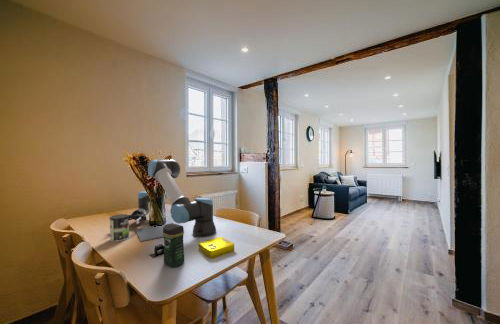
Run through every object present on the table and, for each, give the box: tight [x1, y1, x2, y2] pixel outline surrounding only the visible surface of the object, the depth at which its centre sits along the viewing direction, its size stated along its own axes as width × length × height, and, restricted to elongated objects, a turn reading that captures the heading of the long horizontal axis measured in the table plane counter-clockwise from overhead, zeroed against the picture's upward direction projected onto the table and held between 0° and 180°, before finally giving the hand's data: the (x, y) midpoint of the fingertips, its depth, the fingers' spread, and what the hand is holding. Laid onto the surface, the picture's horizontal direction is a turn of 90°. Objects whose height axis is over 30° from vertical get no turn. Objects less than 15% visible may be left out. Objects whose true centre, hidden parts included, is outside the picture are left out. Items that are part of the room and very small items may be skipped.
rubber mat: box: [134, 223, 167, 243], centre depth 148 cm, size 26×20×1 cm
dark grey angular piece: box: [148, 243, 164, 259], centre depth 116 cm, size 12×7×5 cm, turn 138°
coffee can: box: [109, 213, 130, 243], centre depth 138 cm, size 10×10×14 cm
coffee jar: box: [163, 222, 185, 268], centre depth 105 cm, size 10×8×19 cm
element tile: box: [198, 236, 235, 260], centre depth 118 cm, size 15×15×5 cm
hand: (126, 222), depth 147 cm, fingers open, 13 cm apart
